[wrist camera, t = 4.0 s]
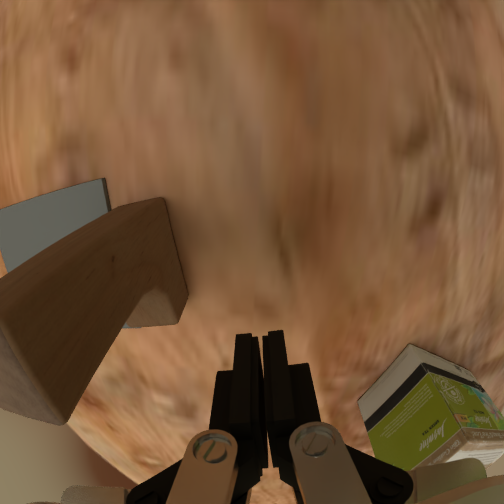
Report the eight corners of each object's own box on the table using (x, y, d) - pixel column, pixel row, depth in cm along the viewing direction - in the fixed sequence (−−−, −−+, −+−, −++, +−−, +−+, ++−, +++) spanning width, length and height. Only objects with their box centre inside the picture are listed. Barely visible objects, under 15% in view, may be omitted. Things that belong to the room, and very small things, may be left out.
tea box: (470, 367, 30) (521, 440, 16) (424, 415, 33) (458, 491, 19) (408, 339, 27) (472, 444, 13) (353, 400, 30) (384, 505, 17)
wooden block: (190, 297, 25) (124, 489, 9) (144, 302, 26) (53, 469, 9) (165, 195, 22) (-5, 321, 5) (116, 206, 23) (-57, 320, 6)
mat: (104, 177, 22) (101, 178, 21) (142, 324, 27) (140, 327, 26) (-6, 211, 22) (-10, 213, 22) (32, 324, 27) (29, 326, 27)
